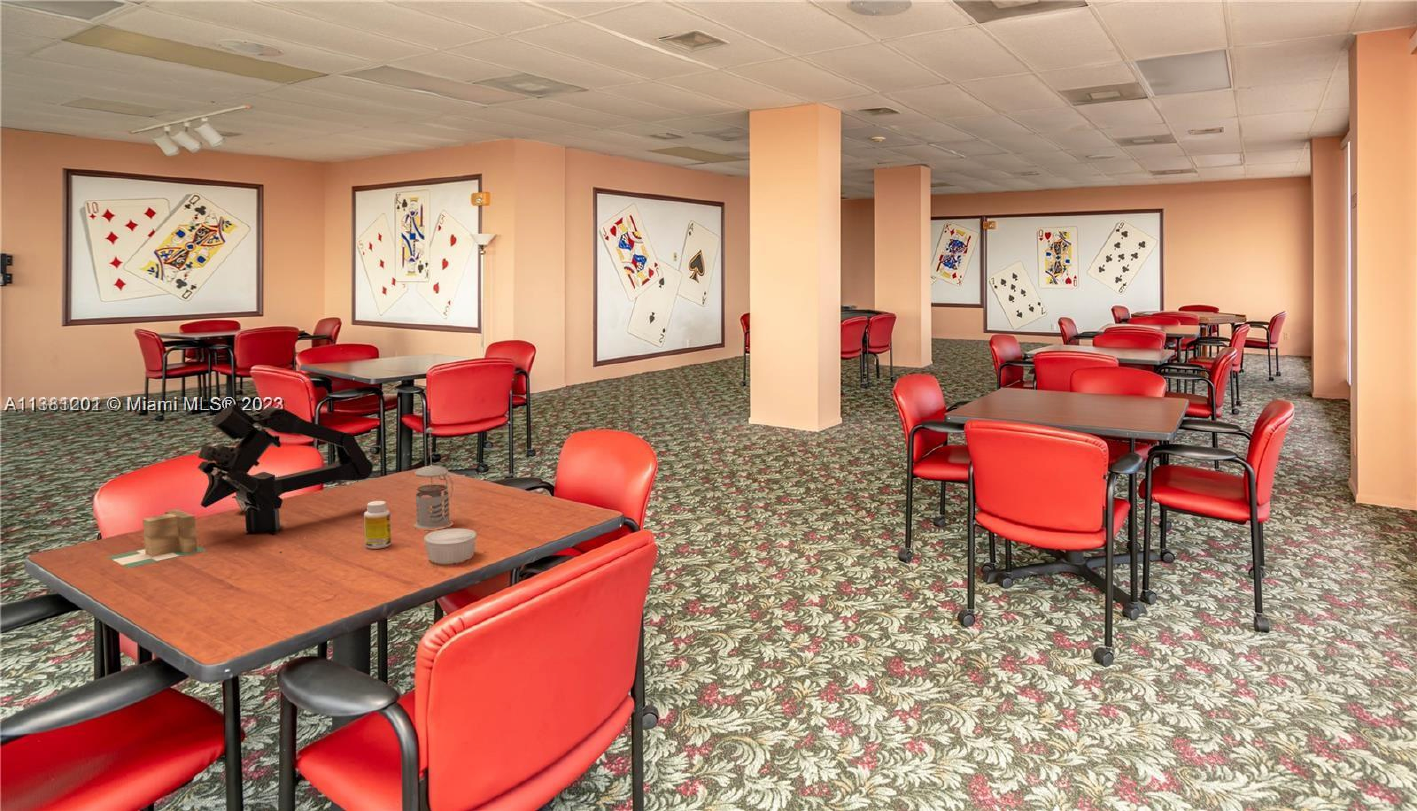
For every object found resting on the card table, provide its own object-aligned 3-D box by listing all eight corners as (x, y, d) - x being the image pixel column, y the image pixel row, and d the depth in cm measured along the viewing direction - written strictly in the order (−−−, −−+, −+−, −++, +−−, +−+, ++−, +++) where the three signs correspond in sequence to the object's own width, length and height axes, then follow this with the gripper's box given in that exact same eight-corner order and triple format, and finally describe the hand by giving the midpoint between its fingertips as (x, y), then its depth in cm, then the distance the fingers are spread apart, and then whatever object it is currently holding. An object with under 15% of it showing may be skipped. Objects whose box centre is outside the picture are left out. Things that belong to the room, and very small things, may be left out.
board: (184, 542, 195) (184, 540, 195) (207, 552, 188) (207, 549, 188) (106, 558, 183) (106, 556, 183) (128, 570, 176) (128, 567, 176)
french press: (404, 528, 208) (399, 429, 205) (435, 516, 219) (432, 422, 215) (436, 532, 205) (432, 431, 201) (466, 520, 215) (463, 424, 212)
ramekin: (448, 569, 178) (447, 545, 177) (413, 560, 184) (412, 537, 183) (488, 556, 187) (487, 533, 187) (453, 547, 193) (452, 525, 192)
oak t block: (180, 542, 193) (177, 509, 192) (197, 550, 188) (194, 515, 187) (140, 551, 187) (137, 516, 186) (157, 559, 181) (154, 523, 180)
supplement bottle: (392, 547, 192) (390, 504, 191) (366, 550, 190) (364, 507, 189) (390, 541, 197) (388, 498, 196) (364, 544, 195) (362, 501, 193)
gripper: (203, 427, 199) (155, 481, 192) (239, 435, 188) (191, 493, 181) (240, 454, 207) (196, 507, 200) (277, 463, 196) (232, 520, 189)
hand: (202, 506), depth 192 cm, fingers closed
